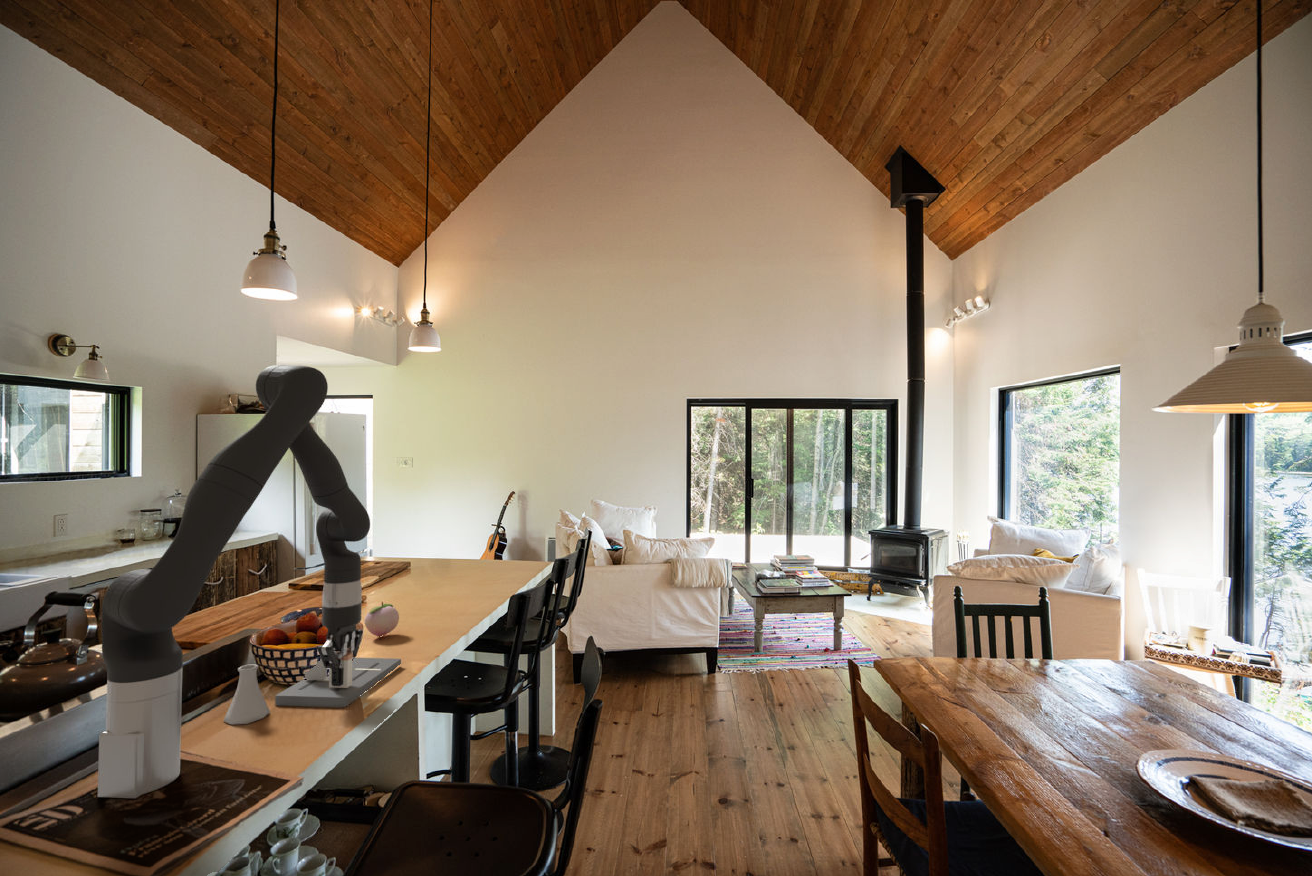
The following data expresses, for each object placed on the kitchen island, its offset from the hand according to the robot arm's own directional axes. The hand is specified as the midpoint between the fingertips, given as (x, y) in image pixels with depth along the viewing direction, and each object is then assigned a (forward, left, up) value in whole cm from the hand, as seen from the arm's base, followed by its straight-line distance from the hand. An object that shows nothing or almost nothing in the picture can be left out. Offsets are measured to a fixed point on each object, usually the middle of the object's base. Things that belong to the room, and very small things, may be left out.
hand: (340, 683), depth 132 cm
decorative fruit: (+42, +13, -3) cm, 44 cm away
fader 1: (+4, +8, -1) cm, 9 cm away
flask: (-11, +13, -3) cm, 17 cm away
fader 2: (0, 0, -1) cm, 1 cm away
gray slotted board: (+7, +4, -3) cm, 8 cm away
